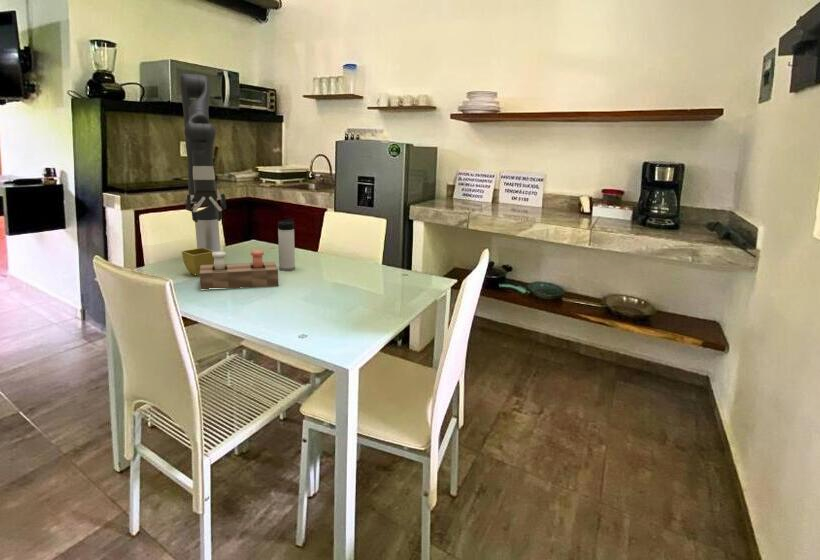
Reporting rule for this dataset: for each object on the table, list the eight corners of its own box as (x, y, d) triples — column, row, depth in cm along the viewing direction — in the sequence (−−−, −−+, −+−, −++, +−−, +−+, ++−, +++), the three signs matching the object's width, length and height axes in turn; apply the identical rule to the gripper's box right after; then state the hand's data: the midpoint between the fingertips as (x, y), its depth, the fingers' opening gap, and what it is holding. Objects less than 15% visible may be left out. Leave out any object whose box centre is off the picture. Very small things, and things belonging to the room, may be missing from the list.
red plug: (251, 269, 178) (250, 250, 176) (263, 268, 180) (263, 249, 178) (252, 272, 174) (251, 252, 172) (264, 271, 176) (264, 252, 174)
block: (201, 280, 177) (200, 265, 175) (275, 276, 186) (274, 261, 184) (200, 290, 166) (199, 273, 164) (278, 285, 175) (277, 269, 173)
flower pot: (195, 278, 179) (193, 254, 177) (182, 273, 184) (180, 250, 182) (216, 274, 186) (215, 251, 184) (204, 269, 191) (202, 247, 189)
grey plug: (213, 271, 174) (212, 251, 172) (226, 270, 175) (225, 251, 173) (213, 274, 170) (212, 254, 168) (226, 273, 171) (225, 253, 169)
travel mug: (297, 267, 201) (296, 219, 195) (291, 271, 194) (290, 222, 189) (282, 266, 201) (281, 218, 196) (276, 270, 195) (275, 221, 189)
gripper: (220, 178, 189) (223, 219, 193) (181, 178, 181) (185, 221, 184) (226, 178, 183) (229, 221, 187) (186, 178, 175) (190, 223, 179)
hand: (207, 221), depth 186 cm, fingers open, 8 cm apart
